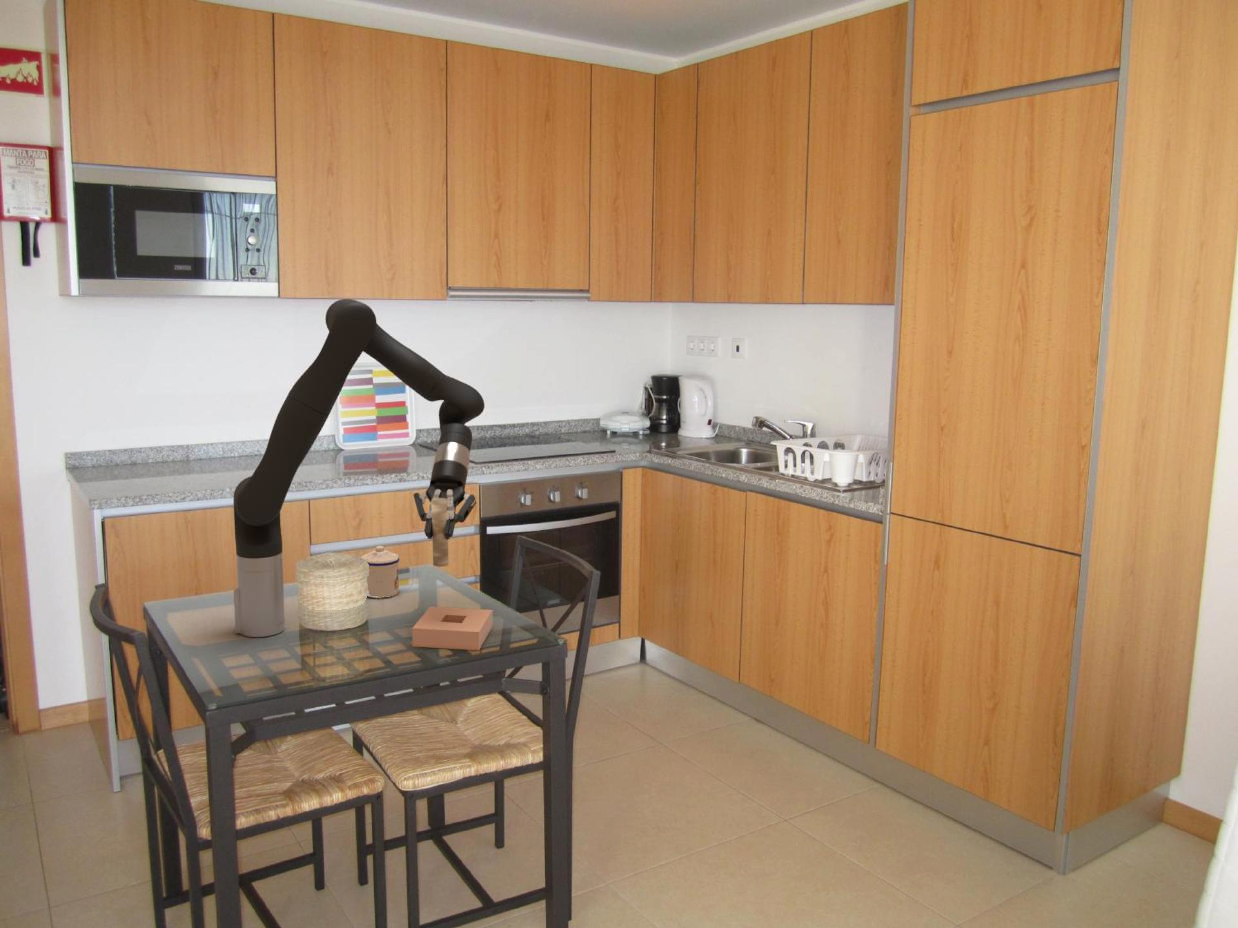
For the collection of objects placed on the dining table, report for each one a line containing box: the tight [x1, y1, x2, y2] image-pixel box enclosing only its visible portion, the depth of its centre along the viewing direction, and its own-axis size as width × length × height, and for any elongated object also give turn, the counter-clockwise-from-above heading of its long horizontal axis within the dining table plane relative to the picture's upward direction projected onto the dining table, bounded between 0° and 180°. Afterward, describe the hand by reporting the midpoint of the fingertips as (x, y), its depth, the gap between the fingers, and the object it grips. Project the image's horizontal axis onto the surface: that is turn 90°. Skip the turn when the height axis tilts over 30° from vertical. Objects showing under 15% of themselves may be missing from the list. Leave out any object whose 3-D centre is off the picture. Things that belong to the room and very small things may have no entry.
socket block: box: [411, 606, 494, 651], centre depth 217 cm, size 14×14×4 cm
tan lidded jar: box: [360, 545, 400, 597], centre depth 245 cm, size 12×9×12 cm
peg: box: [430, 498, 450, 568], centre depth 213 cm, size 3×3×14 cm
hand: (438, 537), depth 211 cm, fingers closed on peg, 3 cm apart
